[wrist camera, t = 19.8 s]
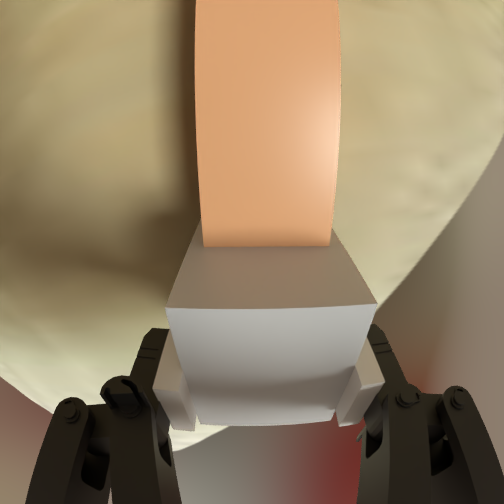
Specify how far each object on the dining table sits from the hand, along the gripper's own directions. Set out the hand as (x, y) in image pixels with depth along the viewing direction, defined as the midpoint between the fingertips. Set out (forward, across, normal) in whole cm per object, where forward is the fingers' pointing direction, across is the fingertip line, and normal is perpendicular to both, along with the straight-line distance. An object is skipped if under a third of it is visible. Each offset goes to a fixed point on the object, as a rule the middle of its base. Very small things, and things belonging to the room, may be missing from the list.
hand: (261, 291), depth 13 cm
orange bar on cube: (0, 0, +9) cm, 9 cm away
